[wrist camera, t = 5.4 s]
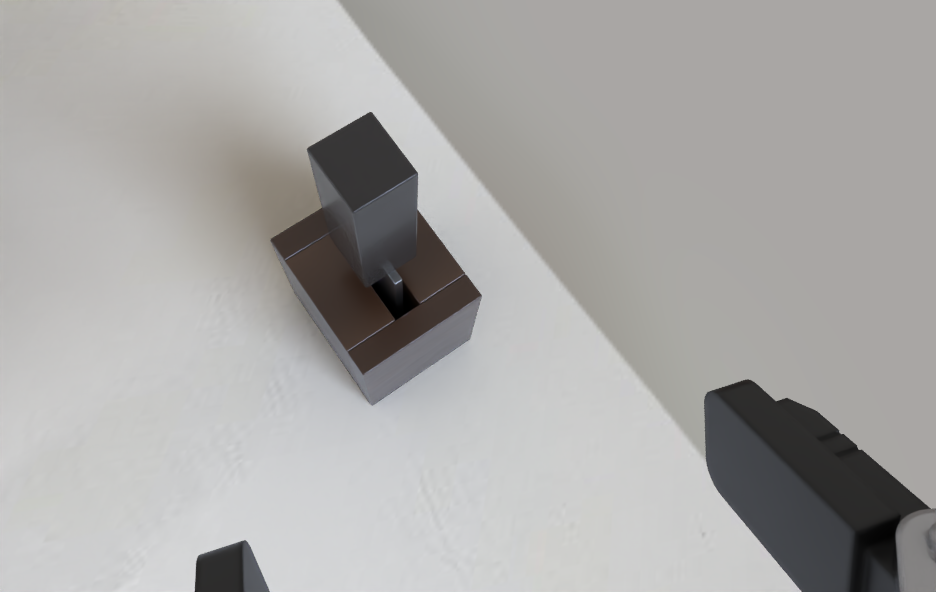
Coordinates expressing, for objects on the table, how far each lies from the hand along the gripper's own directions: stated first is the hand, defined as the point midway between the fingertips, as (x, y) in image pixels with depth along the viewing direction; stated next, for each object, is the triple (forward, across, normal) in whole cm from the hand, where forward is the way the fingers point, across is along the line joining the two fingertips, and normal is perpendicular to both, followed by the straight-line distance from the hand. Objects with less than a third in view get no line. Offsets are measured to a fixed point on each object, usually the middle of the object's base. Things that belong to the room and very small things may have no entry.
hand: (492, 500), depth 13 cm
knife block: (+20, 0, +7) cm, 21 cm away
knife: (+20, 0, +7) cm, 21 cm away
